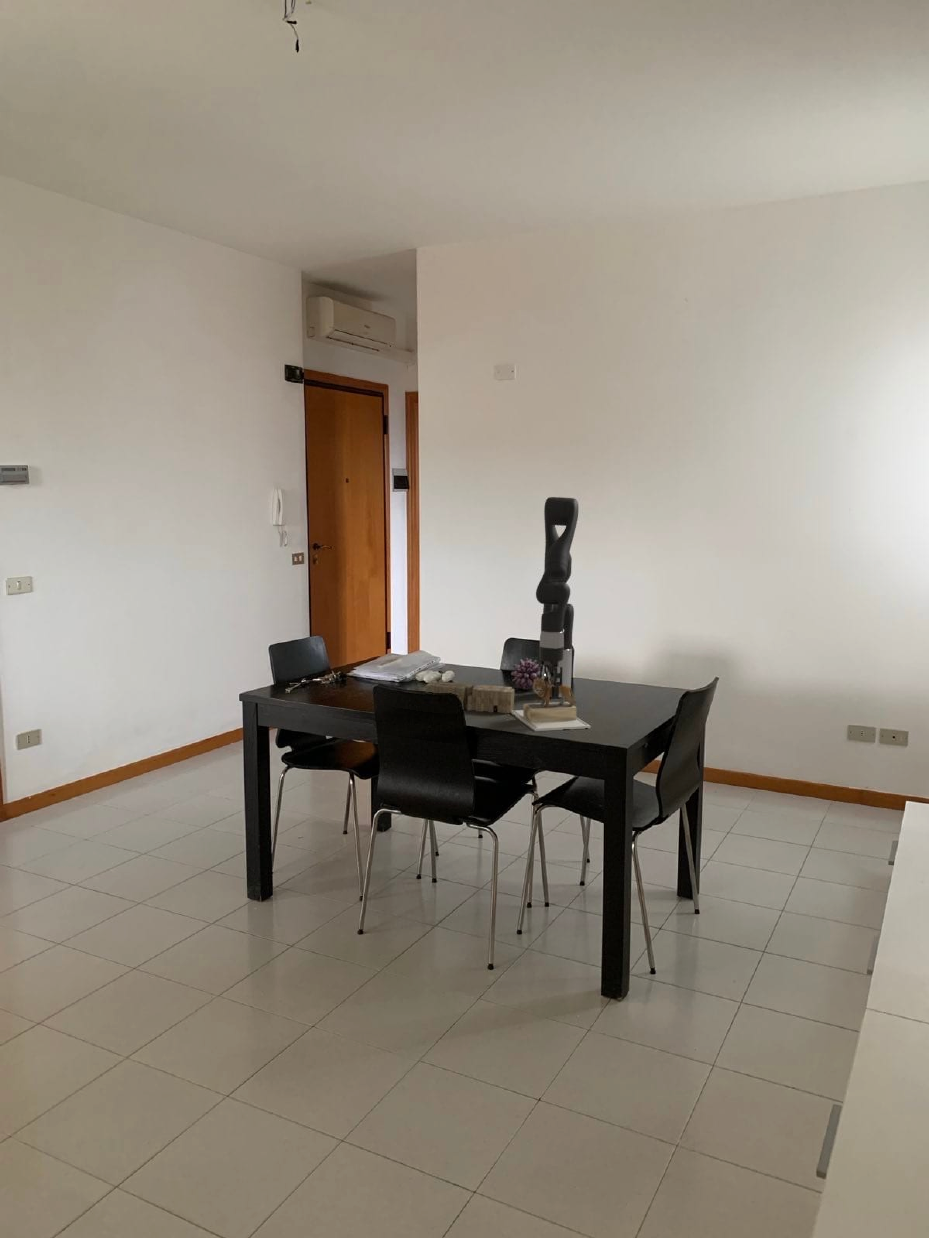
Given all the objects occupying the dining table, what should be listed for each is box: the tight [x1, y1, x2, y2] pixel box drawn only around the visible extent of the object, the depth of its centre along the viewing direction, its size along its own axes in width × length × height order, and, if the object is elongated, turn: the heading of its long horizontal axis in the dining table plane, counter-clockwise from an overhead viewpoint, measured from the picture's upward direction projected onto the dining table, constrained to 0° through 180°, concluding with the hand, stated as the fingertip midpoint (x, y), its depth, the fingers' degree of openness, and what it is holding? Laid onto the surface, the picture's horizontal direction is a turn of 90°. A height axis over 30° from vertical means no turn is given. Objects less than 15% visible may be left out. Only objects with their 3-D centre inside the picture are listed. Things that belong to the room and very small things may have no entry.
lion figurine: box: [533, 677, 577, 707], centre depth 288 cm, size 15×5×9 cm, turn 106°
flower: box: [511, 657, 540, 691], centre depth 335 cm, size 12×12×12 cm
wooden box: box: [522, 701, 578, 722], centre depth 289 cm, size 8×15×4 cm, turn 105°
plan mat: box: [511, 709, 591, 732], centre depth 290 cm, size 24×18×1 cm
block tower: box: [425, 680, 515, 714], centre depth 305 cm, size 8×8×29 cm
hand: (550, 695), depth 289 cm, fingers open, 8 cm apart
